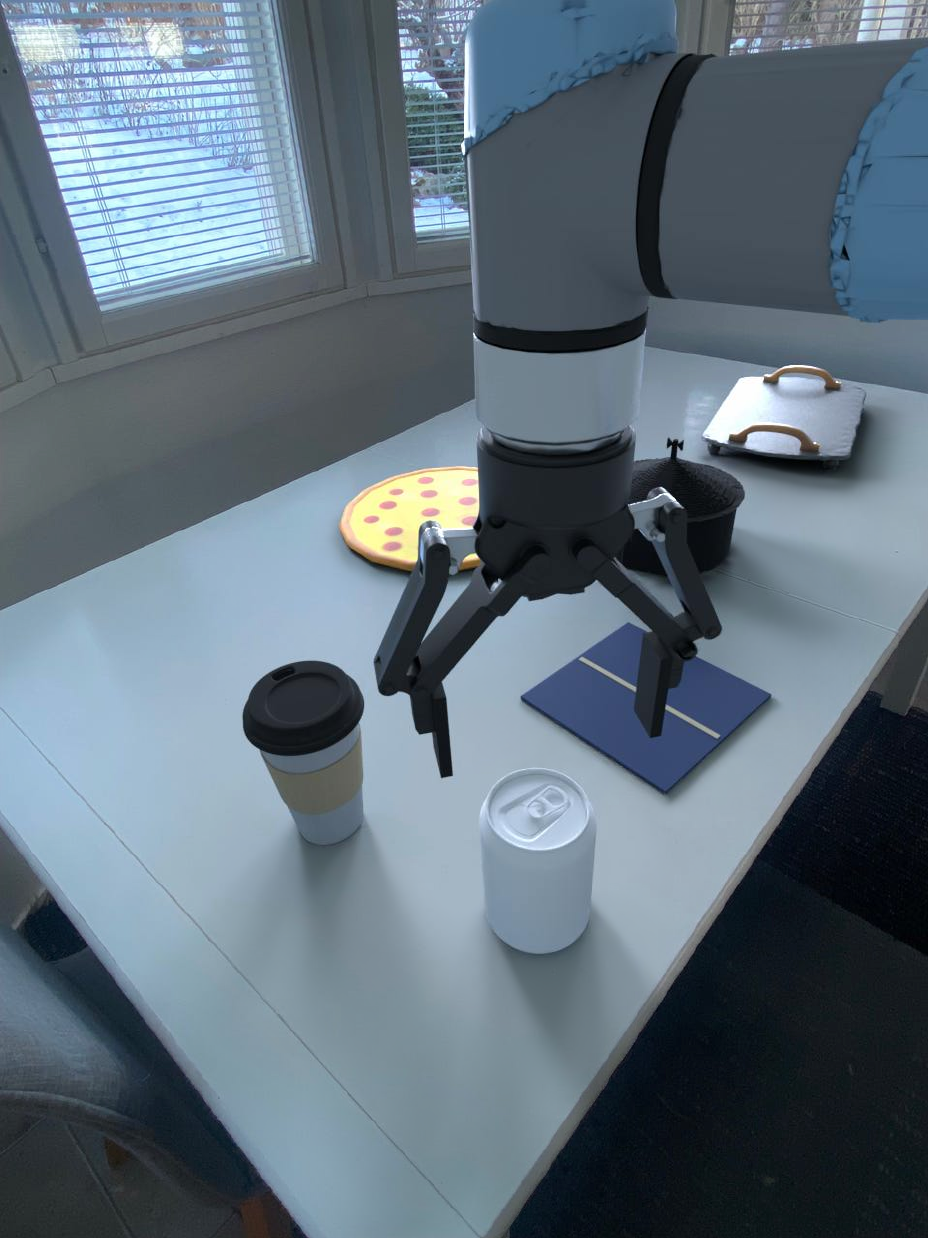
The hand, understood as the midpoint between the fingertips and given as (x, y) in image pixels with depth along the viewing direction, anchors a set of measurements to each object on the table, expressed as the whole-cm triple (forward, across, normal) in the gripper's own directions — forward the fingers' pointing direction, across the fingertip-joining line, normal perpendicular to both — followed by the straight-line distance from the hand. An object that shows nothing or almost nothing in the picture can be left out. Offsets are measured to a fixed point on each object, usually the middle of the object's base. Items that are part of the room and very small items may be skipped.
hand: (547, 742), depth 47 cm
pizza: (+18, -4, -64) cm, 67 cm away
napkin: (+18, -17, -20) cm, 31 cm away
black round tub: (+18, -31, -48) cm, 60 cm away
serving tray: (+18, -69, -79) cm, 106 cm away
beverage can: (+18, +1, +1) cm, 18 cm away
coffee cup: (+18, +16, -12) cm, 27 cm away
